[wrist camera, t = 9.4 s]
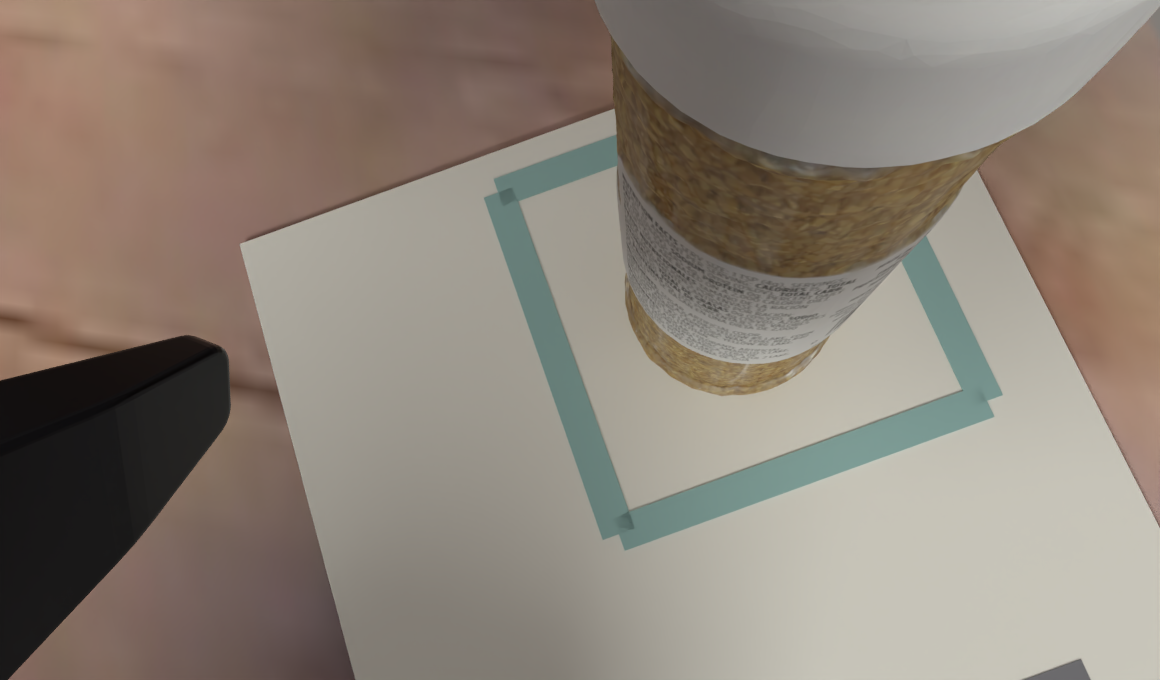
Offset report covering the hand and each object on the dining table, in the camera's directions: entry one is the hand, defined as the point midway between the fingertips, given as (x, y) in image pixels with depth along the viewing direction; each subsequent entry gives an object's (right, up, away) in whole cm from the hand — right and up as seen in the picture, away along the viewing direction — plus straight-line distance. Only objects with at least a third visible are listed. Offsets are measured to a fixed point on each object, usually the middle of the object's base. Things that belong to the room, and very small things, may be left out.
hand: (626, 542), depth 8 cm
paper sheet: (+3, -2, +9) cm, 10 cm away
